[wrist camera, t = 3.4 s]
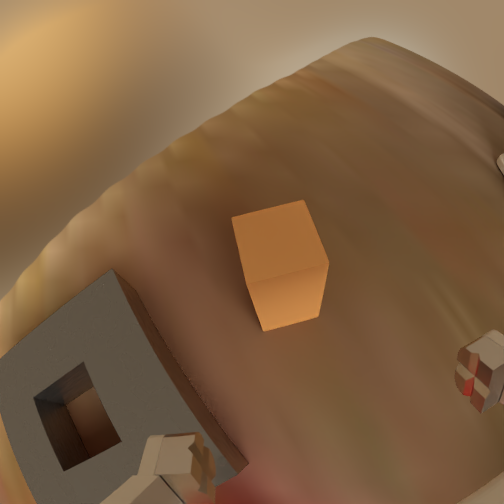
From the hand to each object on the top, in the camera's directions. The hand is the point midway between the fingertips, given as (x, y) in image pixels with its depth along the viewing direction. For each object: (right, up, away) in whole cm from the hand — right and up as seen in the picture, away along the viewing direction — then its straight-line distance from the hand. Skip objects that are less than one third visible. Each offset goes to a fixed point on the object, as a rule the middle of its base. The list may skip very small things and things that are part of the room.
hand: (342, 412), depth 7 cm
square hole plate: (-14, -8, +11) cm, 19 cm away
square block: (0, +1, +14) cm, 14 cm away
